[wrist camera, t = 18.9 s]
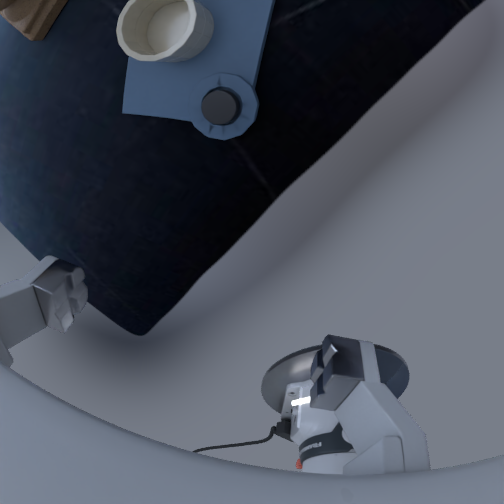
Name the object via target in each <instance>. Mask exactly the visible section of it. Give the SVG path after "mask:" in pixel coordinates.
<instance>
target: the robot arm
mask: <svg viewBox="0 0 504 504" xmlns="http://www.w3.org/2000/svg"><path fill="white" fill-rule="evenodd" d="M84 278H85V274H84V270H83V269H82V268H81V267H79V266H76V265H74V264H71V263H69V262H66V261H64V260H61V259H58V258H55V257H53V256H46V257H45V258H44V259H42V260H41V261H40V262H39V263H38V264H37V265H36V266H35V267H34V268H33V269H32V270H31V271H30V272H29V273H27V274H26V276H24V277H23V278H22V279H21V280H19V279H16V280H14V281H11V282H8V283H5V284H3V285H0V504H504V455H500V456H497V457H493V458H490V459H485V460H481V461H477V462H472V463H468V464H463V465H458V466H453V467H446V468H440V469H433V470H431V469H430V461H429V454H428V448H427V441H426V435H425V433H424V432H423V431H422V429H421V428H420V427H419V426H418V424H417V423H416V422H415V421H414V419H413V418H412V417H411V416H410V415H409V413H408V412H407V411H406V410H405V408H404V407H403V406H402V404H401V403H400V402H399V401H398V399H397V398H396V397H395V396H394V394H393V393H392V392H391V391H390V390H389V388H388V387H387V386H386V385H385V384H383V383H381V381H380V376H379V370H378V364H377V359H376V353H375V348H374V344H373V343H372V342H368V341H362V340H355V339H349V338H344V337H339V336H334V335H327V336H326V337H325V339H324V341H323V342H322V346H323V349H321V350H319V351H317V353H316V355H315V357H314V360H313V363H312V366H311V377H310V379H309V380H306V381H303V382H295V383H290V384H288V385H287V386H286V392H285V397H284V402H283V407H282V412H281V422H278V423H277V427H276V426H272V427H271V431H270V435H269V436H268V437H267V438H265V439H263V440H259V441H252V442H245V443H238V444H229V445H221V446H213V447H206V448H201V449H197V450H195V451H193V452H191V451H187V450H184V449H180V448H177V447H174V446H171V445H167V444H164V443H161V442H158V441H155V440H152V439H150V438H147V437H144V436H141V435H138V434H136V433H133V432H131V431H128V430H126V429H123V428H121V427H118V426H116V425H114V424H111V423H109V422H107V421H104V420H102V419H100V418H98V417H95V416H93V415H91V414H89V413H87V412H85V411H83V410H81V409H79V408H77V407H75V406H73V405H71V404H69V403H67V402H65V401H63V400H62V399H60V398H58V397H56V396H54V395H53V394H51V393H49V392H47V391H45V390H43V389H42V388H40V387H39V386H37V385H35V384H34V383H32V382H31V381H29V380H27V379H26V378H24V377H23V376H21V375H20V374H18V373H16V372H15V371H14V370H12V369H11V368H10V366H11V365H12V363H13V358H12V356H11V354H10V353H9V351H8V349H9V348H11V347H13V346H14V345H16V344H18V343H20V342H21V341H23V340H25V339H26V338H28V337H30V336H31V335H33V334H35V333H37V332H39V331H40V330H42V329H44V328H46V327H47V326H48V327H50V328H53V329H55V330H57V331H59V332H62V333H64V334H65V333H66V331H67V330H68V329H69V327H70V326H71V325H72V323H73V322H74V315H76V314H78V313H80V312H81V311H82V310H83V308H84V307H85V305H86V302H87V299H88V291H87V287H86V285H85V284H84V282H83V279H84ZM273 434H276V435H278V436H280V437H282V438H285V439H287V440H289V441H291V442H295V443H296V444H297V445H298V446H299V458H300V459H298V460H297V464H296V465H297V466H296V467H297V469H302V472H297V471H287V470H279V469H272V468H265V467H258V466H253V465H247V464H242V463H237V462H232V461H227V460H222V459H218V458H214V457H210V456H206V455H202V454H198V453H197V452H199V451H203V450H209V449H217V448H227V447H236V446H244V445H251V444H259V443H263V442H266V441H268V440H270V439H271V438H272V436H273Z"/></svg>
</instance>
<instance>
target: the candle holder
mask: <svg viewBox="0 0 504 504" xmlns="http://www.w3.org/2000/svg"><path fill="white" fill-rule="evenodd" d="M67 1H68V0H0V14H1V15H2V16H3V17H4V18H5V19H6V20H7V21H8V22H9V23H10V24H11V25H13V26H14V27H15V28H16V29H17V30H19V31H20V32H21V33H22V34H23V35H24V36H25V37H27V38H28V39H30V40H32V41H37V40H43V38H44V37H45V35H46V34H47V32H48V31H49V29H50V27H51V26H52V24H53V22H54V21H55V19H56V18H57V16H58V14H59V13H60V11H61V10H62V8H63V7H64V5H65V4H66V2H67Z"/></svg>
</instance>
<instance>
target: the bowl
mask: <svg viewBox="0 0 504 504" xmlns="http://www.w3.org/2000/svg"><path fill="white" fill-rule="evenodd" d="M213 31H214V20H213V16H212V14H211V12H210V10H209V9H208V8H207V7H206V6H205V5H204V4H203V3H202V2H201V1H199V0H130V1H129V2H128V3H127V4H126V5H125V7H124V9H123V10H122V12H121V14H120V16H119V19H118V24H117V29H116V33H117V37H118V42H119V45H120V46H121V48H122V49H123V50H124V52H125V53H126V54H127V55H128V56H130V57H132V58H134V59H136V60H138V61H156V62H174V63H175V62H182V61H186V60H189V59H191V58H193V57H195V56H196V55H198V54H199V53H200V52H201V51H202V50H203V49H204V48H205V47H206V46H207V45H208V43H209V41H210V40H211V37H212V35H213Z"/></svg>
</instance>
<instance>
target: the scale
mask: <svg viewBox="0 0 504 504" xmlns="http://www.w3.org/2000/svg"><path fill="white" fill-rule="evenodd" d="M199 1H201V2H202V3H203V4H204V5H205V6H206V7H207V8H208V9H209V10H210V12H211V14H212V16H213V20H214V31H213V35H212V37H211V40H210V41H209V43H208V45H207V46H206V47H205V48H204V49H203V50H202V51H201V52H200V53H199V54H198V55H196V56H195V57H193V58H191V59H189V60H186V61H182V62H175V63H174V62H156V61H138V60H136V59H134V58H132V57H130V56H129V60H128V67H127V74H126V82H125V91H124V100H123V111H122V113H127V114H137V115H147V116H156V117H164V118H171V119H179V120H186V121H192V123H193V125H194V127H196V128H197V129H198V130H199V131H201V132H202V133H203V134H204V135H205V136H207V137H210V138H215V139H220V140H227V139H230V138H233V137H236V136H240V135H242V134H243V133H244V132H245V131H246V130H247V129H248V128H249V127H250V126H251V124H252V123H253V122H254V121H255V120H256V117H257V113H258V108H259V100H258V97H257V94H256V91H255V86H256V82H257V77H258V73H259V68H260V64H261V59H262V55H263V50H264V46H265V42H266V37H267V33H268V29H269V25H270V21H271V16H272V12H273V8H274V4H275V0H199ZM218 90H227V91H230V92H231V93H233V94H234V95H235V96H236V97H237V99H238V102H239V110H238V113H237V115H236V116H235V117H234V118H233V119H232V120H230V121H229V122H227V123H225V124H213V123H211V122H209V121H208V120H207V119H206V118H205V117H204V116H203V113H202V109H201V107H202V102H203V100H204V98H205V97H206V96H207V95H208V94H209V93H211V92H214V91H218Z"/></svg>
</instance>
